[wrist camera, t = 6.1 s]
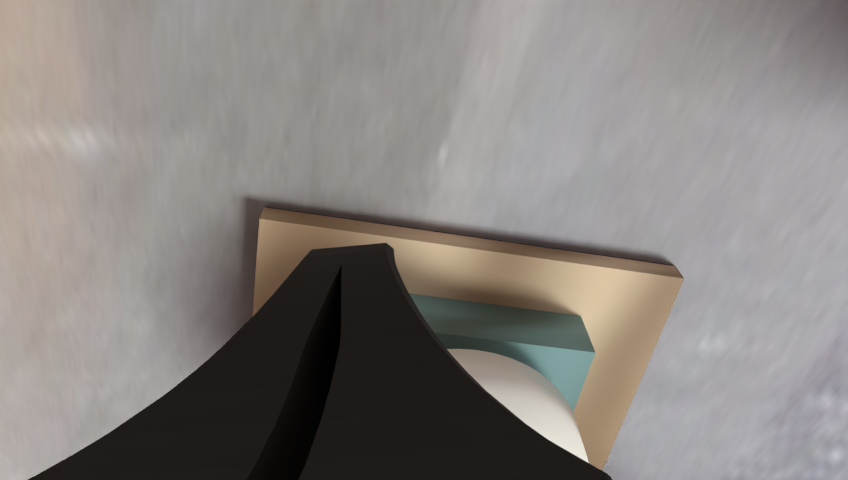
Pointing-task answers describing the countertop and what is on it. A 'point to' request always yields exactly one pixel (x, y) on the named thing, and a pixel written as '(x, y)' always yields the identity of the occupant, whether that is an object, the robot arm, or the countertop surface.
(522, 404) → the disc
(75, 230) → the countertop surface
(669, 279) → the dispenser base
